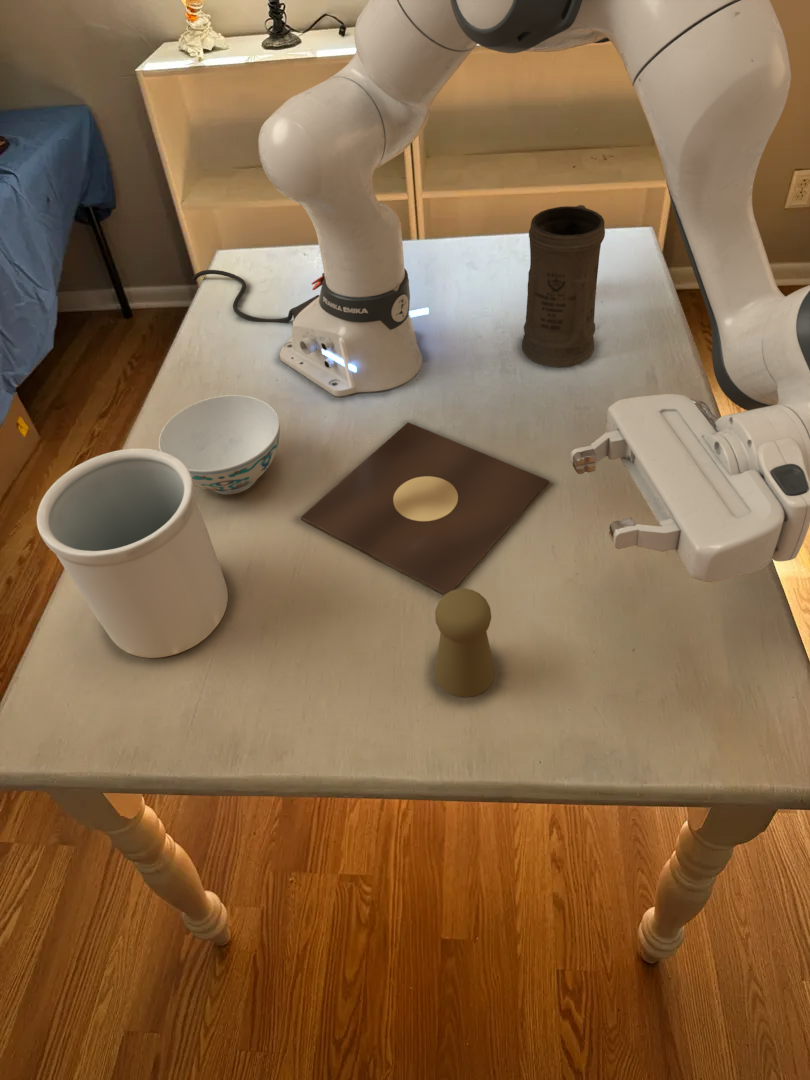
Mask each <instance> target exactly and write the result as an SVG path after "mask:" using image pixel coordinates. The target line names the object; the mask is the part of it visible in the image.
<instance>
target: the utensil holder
mask: <svg viewBox="0 0 810 1080" xmlns="http://www.w3.org/2000/svg"><path fill="white" fill-rule="evenodd" d="M36 527H37V531H38V532H39V535H40V537H41V540H42V541H43V542H44V544H45V545H46V546H47V547H48V548H49V550H50V551H52V552H53V553H54V554H55V556H56V557H57V559H58V560H59V562H60V564H61V565H62V567H63V568H64V569H65V571H66V573H67V575H68V576H69V577H70V579H71V580H72V582H73V583H74V585H75V586H76V588H77V590H78V592H79V593H80V594H81V596H82V597H83V599H84V600H85V602H86V604H87V606H88V607H89V609H90V610H91V612H92V613H93V615H94V616H95V618H96V619H97V621H98V622H99V624H100V625H101V626H102V627H103V629H104V630H105V631H104V632H106V634H107V635H108V637H109V638H110V639H111V640H112V642H113V643H114V644H115V645H116V646H117V647H118V648H119V649H120V650H122V651H123V652H125V653H127V654H129V655H132V656H134V657H135V656H136V657H138V658H139V657H140V658H148V659H158V658H159V659H160V658H166V657H170V656H175V655H178V654H180V653H183V652H185V651H187V650H190V649H192V648H193V647H196V646H197V645H198V644H200V643H201V642H203V641H204V640H205V639H207V638H208V637H209V636H210V635H211V634H212V633H213V631H214V630H215V629H216V628H217V627H218V625H219V624H220V623H221V621H222V620H223V617H224V615H225V613H226V610H227V606H228V600H229V594H228V592H229V591H228V587H227V584H226V580H225V577H224V574H223V570H222V568H221V564H220V561H219V559H218V556H217V553H216V550H215V548H214V545H213V542H212V540H211V536H210V534H209V531H208V527H207V525H206V522H205V519H204V517H203V514H202V511H201V508H200V505H199V502H198V499H197V496H196V486H195V485H194V482H193V479H192V476H191V474H190V472H189V470H188V469H187V467H186V466H185V465H184V464H183V463H182V462H181V461H180V460H179V459H177V458H176V457H174V456H172V455H170V454H168V453H165V452H162V451H160V450H157V449H153V448H143V447H141V448H139V447H138V448H135V447H134V448H126V449H120V450H119V449H118V450H114V451H110V452H106V453H103V454H100V455H97V456H94V457H92V458H89V459H87V460H85V461H83V462H81V463H79V464H77V465H75V466H74V467H73V468H71V469H69V470H68V471H67V472H65V473H64V474H62V475H61V476H60V477H59V478H58V479H56V480H55V482H54V483H53V484H52V485H51V486H50V487H49V489H47V490H46V492H45V494H44V495H43V497H42V499H41V501H40V503H39V505H38V508H37V513H36Z"/></svg>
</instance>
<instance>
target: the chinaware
mask: <svg viewBox="0 0 810 1080" xmlns="http://www.w3.org/2000/svg"><path fill="white" fill-rule="evenodd" d="M280 425H281V423H280V418H279V415H278V413H277V411H276V410H275V408H273V407H272V405H270V404H269V403H268V402H266V401H264V400H262V399H259V398H257V397H254V396H250V395H243V394H225V395H217V396H211V397H209V398H205V399H201V400H198V401H196V402H194V403H192V404H190V405H187V406H186V407H183V408H182V409H181V410H179V411H178V412H177V413H175V414H174V415H172V417H170V418H169V420H168V421H167V422H166V423H165V424H164V426H163V428H161V431H160V434H159V437H158V448H159V451H162V452H165V453H168V454H170V455H172V456H174V457H176V458H177V459H179V460H180V461H181V462H182V463H183V464H184V465H185V466H186V467H187V469H188V470H189V472H190V474H191V476H192V479H193V482H194V486H195V487H197V488H200V489H203V490H205V491H206V490H207V491H211V492H215V493H217V494H221V495H234V494H239V493H241V492H244V491H246V490H248V489H250V488H251V487H252V486H253V485H254V484H255V483H256V482H257V480H258V479H259V478H260V477H261V476H262V475H263V474H264V473H265V472H266V471H267V470H268V468H269V467H270V465H271V464H272V462H273V461H274V458H275V456H276V453H277V451H278V447H279V443H280V442H279V441H280V433H281V426H280Z"/></svg>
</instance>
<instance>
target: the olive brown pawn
mask: <svg viewBox="0 0 810 1080" xmlns="http://www.w3.org/2000/svg"><path fill="white" fill-rule="evenodd" d="M434 617H435V618H434V619H435V624H436V626H437V628H438V630H439V632H440V633H439V634H440V635H439V639H438V640H439V641H438V646H437V647H438V648H437V653H436V661H435V667H434V675H435V677H434V678H435V679H436V682H437V683H438V685H439V687H440V688H441V689H442V690H443V691H444V692H446V693H448V694H449V695H451V696H456V697H459V698H469V697H470V698H472V697H475V696H478V695H481V694H482V693H483V692H485V691H486V690H488V689H489V687H490V686H491V684H492V683H493V681H494V678H495V666H494V665H495V664H494V660H493V657H492V652H491V651H492V650H491V647H490V642H489V638H488V637H489V636H488V634H487V631H488V630H489V627H490V624H491V621H492V610H491V607H490V604H489V602H488V601H487V599H486V598H485V597H484V596H483V595H482V594H481V593H480V592H477V591H475V590H474V589H470V588H455V589H454V590H453V591H450V592H449V593H447V594H445V595H443V596H442V597H441V598H440V599H439V600H438V602H437V605H436V608H435V611H434Z"/></svg>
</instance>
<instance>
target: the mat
mask: <svg viewBox="0 0 810 1080" xmlns="http://www.w3.org/2000/svg"><path fill="white" fill-rule="evenodd" d="M549 483H550V480H549V479H546V478H543V477H541V476H539V475H536V474H535V473H532V472H531V471H527V470H525V469H522V468H520V467H517V466H515V465H513V464H510V463H508V462H505V461H503V460H501V459H498V458H496V457H493V456H491V455H488V454H486V453H484V452H481V451H478V450H476V449H474V448H473V447H472V448H471V447H469V446H467V445H464V444H462V443H459V442H458V441H454V440H452V439H450V438H448V437H444V436H442V435H440V434H437V433H435V432H433V431H430V430H428V429H426V428H423V427H420V426H419V425H416V424H413V423H411V422H406V423H405V424H404V425H402V427H401V428H400V429H398V431H396V432H395V433H393V435H392V436H391V437H389V438H388V439H387V440H386V441H385V442H384V443H382V445H380V446H379V447H378V448H377V449H376V450H375V451H374V452H373V453H371V454H370V455H369V456H368V457H367V458H366V459H365V460H364V461H362V462H361V463H360V464H359V465H358V466H356V468H354V469H353V470H352V471H351V472H350V473H348V475H347V476H345V477H344V478H343V479H342V480H341V481H340V482H338V484H337V485H335V486H334V487H333V488H332V489H330V490H329V491H328V492H327V493H326V494H325V495H323V497H321V499H319V500H318V501H317V502H316V503H315V504H314V505H312V506H311V507H310V508H309V509H308V510H307V511H306V512H305V513H304V514H302V515H301V516H300V520H301V521H302V522H304V523H306V524H308V525H310V526H312V527H314V528H316V529H318V530H319V531H321V532H323V533H325V534H327V535H329V536H331V537H333V538H334V539H337V540H338V541H340V542H342V543H344V544H346V545H348V546H350V547H352V548H353V549H356V550H357V551H359V552H361V553H363V554H365V555H367V556H369V557H371V558H373V559H375V560H376V561H378V562H380V563H382V564H384V565H386V566H388V567H389V568H391V569H394V570H395V571H397V572H399V573H401V574H403V575H404V576H407V577H409V578H411V579H413V580H414V581H416V582H418V583H420V584H422V585H424V586H426V587H428V588H430V589H431V590H433V591H435V592H437V593H439V594H441V595H443V596H444V595H445V594H447V593H449V592H450V591H453V590H456V589H457V587H458V586H459V585H460V584H461V583H462V582H463V580H465V578H466V577H467V576H468V575H469V574H470V572H471V571H473V569H474V568H475V567H476V566H477V565H478V563H480V562H481V560H482V559H483V558H484V557H485V556H486V555H487V554H488V553H489V552H490V550H491V549H492V548H493V547H494V546H495V544H496V543H497V542H498V541H499V540H500V539H501V537H503V535H505V533H506V532H507V531H508V530H509V529H510V528H511V527H512V525H514V523H515V522H516V521H517V520H518V519H519V517H520V516H521V515H522V514H523V513H524V512H525V510H526V509H528V508H529V506H530V505H531V504H532V503H533V502H534V501H535V500H536V498H538V496H539V495H540V494H541V492H542V491H543V490H544V489H545V488H546V487H547V486H548V485H549Z"/></svg>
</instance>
